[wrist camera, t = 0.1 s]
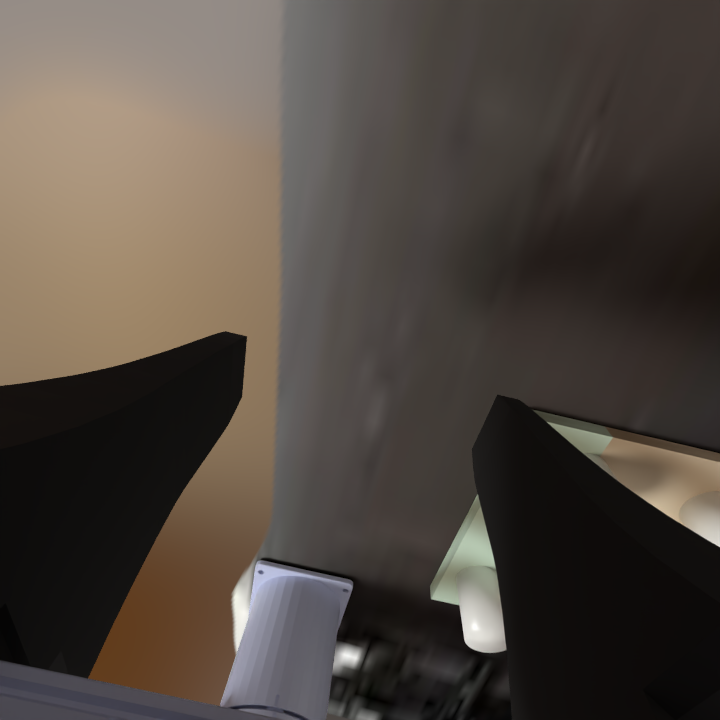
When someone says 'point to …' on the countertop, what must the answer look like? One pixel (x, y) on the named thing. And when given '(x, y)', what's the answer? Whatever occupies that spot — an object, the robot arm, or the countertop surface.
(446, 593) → the board
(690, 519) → the spacers
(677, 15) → the countertop surface
